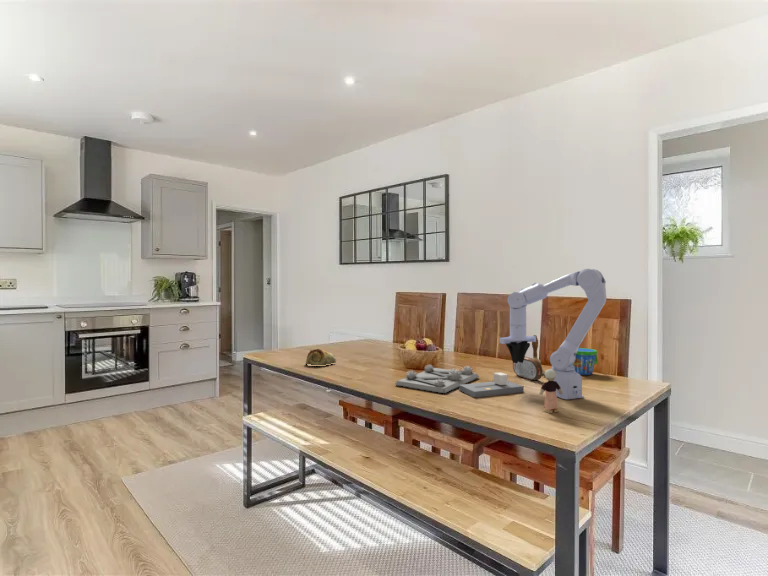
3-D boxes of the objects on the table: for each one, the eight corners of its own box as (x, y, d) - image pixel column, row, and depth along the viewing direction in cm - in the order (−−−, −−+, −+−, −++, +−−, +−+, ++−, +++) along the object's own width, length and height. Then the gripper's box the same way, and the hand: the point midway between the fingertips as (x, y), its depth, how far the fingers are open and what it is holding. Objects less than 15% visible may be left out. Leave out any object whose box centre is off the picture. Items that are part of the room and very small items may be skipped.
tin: (543, 382, 164) (543, 360, 164) (536, 382, 163) (536, 360, 163) (517, 374, 178) (517, 354, 178) (511, 374, 177) (511, 354, 177)
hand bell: (547, 375, 176) (547, 336, 175) (526, 374, 177) (526, 336, 177) (543, 370, 184) (543, 334, 184) (523, 370, 185) (523, 333, 185)
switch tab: (507, 384, 150) (507, 374, 150) (500, 385, 149) (500, 375, 149) (500, 382, 154) (500, 372, 154) (493, 382, 153) (493, 373, 153)
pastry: (303, 367, 194) (303, 350, 194) (308, 362, 206) (308, 346, 206) (333, 367, 194) (333, 350, 193) (337, 362, 206) (337, 346, 206)
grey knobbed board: (433, 372, 183) (433, 356, 183) (480, 379, 170) (480, 361, 170) (393, 387, 159) (393, 368, 159) (444, 396, 146) (444, 375, 146)
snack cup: (587, 369, 185) (587, 346, 185) (607, 374, 175) (607, 350, 175) (558, 372, 180) (558, 348, 180) (577, 377, 170) (577, 352, 170)
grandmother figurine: (553, 407, 131) (553, 366, 130) (564, 411, 127) (564, 369, 127) (535, 411, 127) (535, 369, 127) (546, 415, 124) (546, 371, 123)
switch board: (523, 391, 149) (523, 386, 149) (474, 397, 142) (474, 391, 142) (506, 385, 159) (506, 380, 159) (459, 390, 152) (459, 384, 152)
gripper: (527, 323, 160) (527, 359, 161) (494, 324, 155) (494, 361, 156) (539, 325, 154) (539, 362, 154) (506, 326, 149) (506, 365, 149)
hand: (517, 362), depth 154 cm, fingers closed
